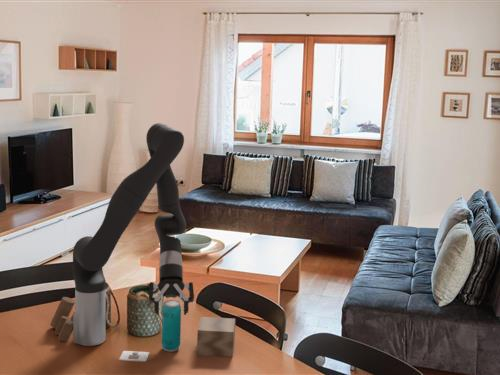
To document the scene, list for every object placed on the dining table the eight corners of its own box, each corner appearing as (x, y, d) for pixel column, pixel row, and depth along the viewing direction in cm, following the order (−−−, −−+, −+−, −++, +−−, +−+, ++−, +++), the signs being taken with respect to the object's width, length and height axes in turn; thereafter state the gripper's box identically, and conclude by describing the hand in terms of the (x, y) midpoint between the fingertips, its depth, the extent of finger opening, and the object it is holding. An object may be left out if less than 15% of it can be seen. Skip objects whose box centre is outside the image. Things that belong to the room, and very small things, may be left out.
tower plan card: (119, 360, 198) (119, 359, 198) (123, 351, 204) (123, 350, 204) (145, 361, 198) (145, 360, 198) (149, 353, 204) (149, 351, 203)
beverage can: (165, 343, 211) (166, 298, 208) (182, 346, 209) (184, 301, 207) (158, 350, 205) (159, 304, 203) (176, 353, 204) (177, 307, 201)
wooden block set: (70, 349, 209) (83, 321, 208) (43, 339, 208) (56, 311, 206) (77, 324, 227) (89, 299, 225) (53, 315, 225) (65, 289, 223)
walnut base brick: (196, 354, 204) (197, 330, 202) (200, 340, 215) (201, 316, 213) (232, 356, 204) (233, 332, 202) (234, 342, 214) (235, 318, 213)
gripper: (148, 262, 212) (148, 309, 203) (193, 262, 215) (195, 308, 206) (148, 273, 219) (148, 319, 210) (192, 272, 221) (193, 318, 212)
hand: (171, 314), depth 208 cm, fingers open, 8 cm apart
